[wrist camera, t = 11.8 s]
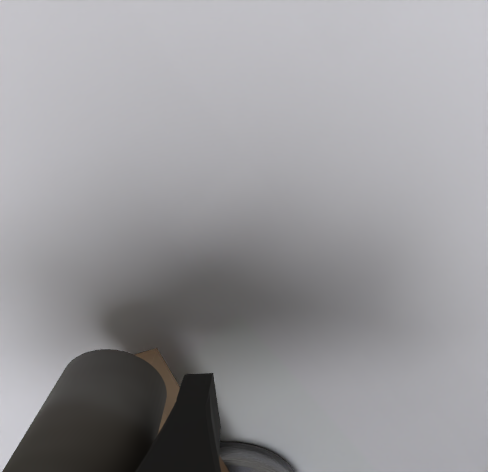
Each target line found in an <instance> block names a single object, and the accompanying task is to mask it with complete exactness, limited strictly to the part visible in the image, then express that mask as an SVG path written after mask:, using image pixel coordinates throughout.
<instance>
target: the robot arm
mask: <svg viewBox="0 0 488 472" xmlns="http://www.w3.org/2000/svg"><path fill="white" fill-rule="evenodd" d="M220 428H221V426H220V419H219V412H218V405H217V398H216V391H215V384H214V377H213V373H207V374H187V375H185V376H184V378H183V381H182V384H181V386H180V389H179V392H178V396H177V399H176V402H175V404H174V406H173V408H172V410H171V412H170V414H169V416H168V418H167V420H166V421H165V423H164V425H163V427H162V428H161V430H160V432H159V434H158V435H157V437H156V439H155V440H154V442H153V444H152V446H151V447H150V449H149V451H148V452H147V454H146V456H145V457H144V459H143V460H142V462H141V463H140V465H139V466H138V468H137V470H136V471H135V472H221V468H220V461H219V457H220Z"/></svg>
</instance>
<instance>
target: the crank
mask: <svg viewBox="0 0 488 472" xmlns="http://www.w3.org/2000/svg"><path fill="white" fill-rule="evenodd" d="M179 389H180V387H179V385H178V383H177V382H176V380H175V378H174V376H173V375H172V373H171V371H170V370H169V368H168V366H167V364H166V363H165V361H164V359H163V358H162V356H161V354H160V352H159V351H158V349H157V348H155V349H152V350H148V351H145V352H141V353H138V354H135V355H133V354H131V353H127V352H124V351H119V350H110V349H102V350H94V351H90V352H87V353H84V354H82V355H80V356H78V357H76V358H75V359H73V360H72V361H71V362H70V363H69V364H68V365H67V367H66V368H65V370H64V371H63V373H62V375H61V376H60V378H59V380H58V381H57V383H56V385H55V386H54V388H53V389H52V391H51V393H50V394H49V396H48V398H47V399H46V401H45V403H44V404H43V406H42V407H41V409H40V411H39V412H38V414H37V416H36V417H35V419H34V421H33V422H32V424H31V425H30V427H29V429H28V430H27V432H26V434H25V435H24V437H23V439H22V440H21V442H20V443H19V445H18V447H17V448H16V450H15V452H14V453H13V455H12V457H11V458H10V460H9V462H8V463H7V465H6V466H5V468H4V470H3V471H2V472H135V471H136V470H137V468H138V466H139V465H140V463H141V462H142V460H143V459H144V457H145V456H146V454H147V452H148V451H149V449H150V447H151V446H152V444H153V442H154V440H155V439H156V437H157V435H158V434H159V432H160V430H161V428H162V427H163V425H164V423H165V421H166V420H167V418H168V416H169V414H170V412H171V410H172V408H173V406H174V404H175V402H176V399H177V396H178V392H179ZM219 461H220V468H221V472H229V471H228V469H227V467H226V465H225V464H224V462H223V460H222V459H221V457H219Z"/></svg>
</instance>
